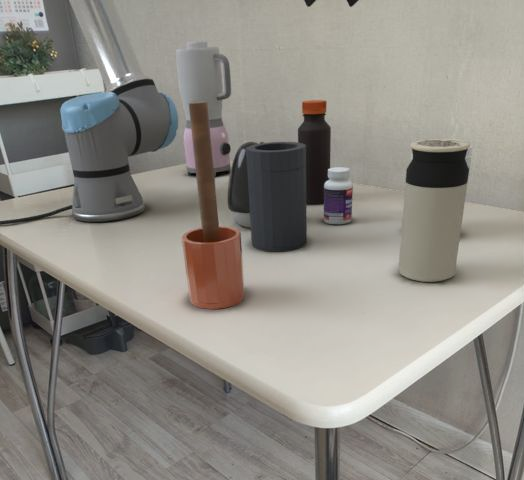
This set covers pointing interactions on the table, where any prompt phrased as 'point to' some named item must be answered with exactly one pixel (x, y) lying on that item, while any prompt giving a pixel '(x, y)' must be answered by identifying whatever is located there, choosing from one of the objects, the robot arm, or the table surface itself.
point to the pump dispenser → (239, 187)
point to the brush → (204, 170)
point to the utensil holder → (277, 195)
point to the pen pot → (214, 268)
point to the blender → (205, 98)
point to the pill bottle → (338, 196)
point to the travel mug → (433, 209)
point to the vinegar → (315, 148)
